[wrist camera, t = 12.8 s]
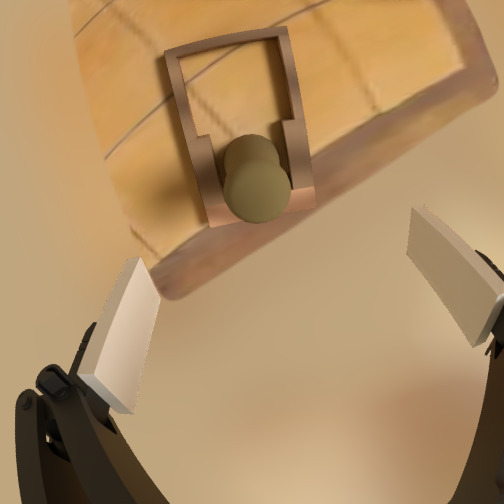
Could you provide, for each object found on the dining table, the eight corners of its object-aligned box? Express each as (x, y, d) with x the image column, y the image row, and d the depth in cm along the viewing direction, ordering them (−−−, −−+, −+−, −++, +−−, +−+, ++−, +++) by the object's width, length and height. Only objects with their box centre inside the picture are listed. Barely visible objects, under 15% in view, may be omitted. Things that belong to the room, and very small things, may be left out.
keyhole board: (167, 52, 23) (163, 51, 21) (284, 28, 22) (286, 26, 21) (211, 221, 33) (210, 227, 32) (313, 201, 32) (316, 207, 31)
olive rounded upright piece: (222, 187, 31) (216, 235, 22) (223, 133, 28) (216, 157, 19) (277, 188, 31) (295, 236, 22) (281, 135, 28) (304, 160, 19)
